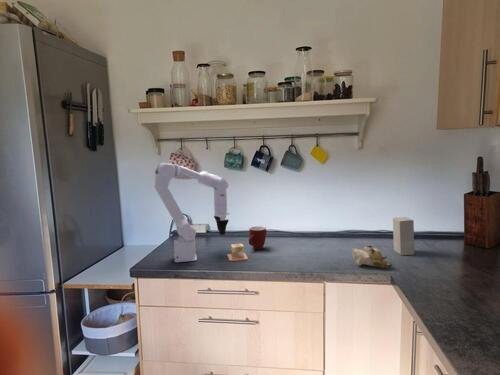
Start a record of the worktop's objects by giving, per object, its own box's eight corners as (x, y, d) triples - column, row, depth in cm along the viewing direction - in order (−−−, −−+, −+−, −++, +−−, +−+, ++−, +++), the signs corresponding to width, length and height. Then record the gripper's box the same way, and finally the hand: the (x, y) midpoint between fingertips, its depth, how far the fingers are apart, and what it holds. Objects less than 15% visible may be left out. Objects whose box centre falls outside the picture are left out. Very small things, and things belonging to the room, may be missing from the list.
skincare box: (414, 255, 158) (416, 220, 156) (398, 255, 158) (399, 220, 156) (406, 249, 167) (408, 216, 165) (391, 249, 167) (392, 216, 165)
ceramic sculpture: (350, 240, 152) (387, 243, 150) (349, 260, 153) (385, 263, 151) (354, 248, 142) (394, 251, 140) (352, 269, 143) (392, 272, 141)
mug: (258, 253, 165) (258, 232, 164) (243, 251, 169) (243, 230, 168) (269, 247, 174) (269, 227, 173) (254, 245, 178) (254, 225, 177)
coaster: (229, 261, 155) (229, 259, 155) (227, 255, 163) (227, 254, 163) (248, 259, 157) (247, 258, 157) (244, 254, 165) (244, 252, 165)
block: (232, 258, 157) (232, 247, 157) (231, 255, 162) (230, 244, 161) (243, 257, 158) (243, 246, 157) (242, 254, 163) (241, 243, 162)
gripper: (231, 205, 158) (232, 235, 159) (227, 200, 172) (227, 228, 173) (215, 206, 156) (216, 237, 158) (212, 201, 170) (213, 229, 172)
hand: (221, 232), depth 166 cm, fingers open, 7 cm apart
